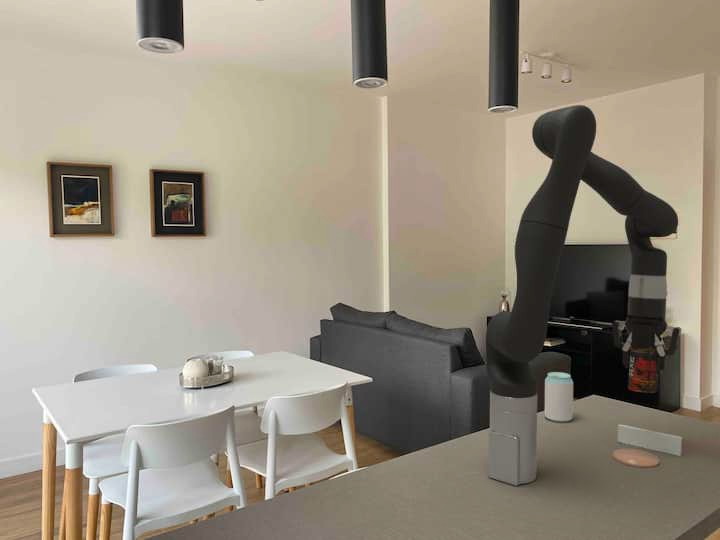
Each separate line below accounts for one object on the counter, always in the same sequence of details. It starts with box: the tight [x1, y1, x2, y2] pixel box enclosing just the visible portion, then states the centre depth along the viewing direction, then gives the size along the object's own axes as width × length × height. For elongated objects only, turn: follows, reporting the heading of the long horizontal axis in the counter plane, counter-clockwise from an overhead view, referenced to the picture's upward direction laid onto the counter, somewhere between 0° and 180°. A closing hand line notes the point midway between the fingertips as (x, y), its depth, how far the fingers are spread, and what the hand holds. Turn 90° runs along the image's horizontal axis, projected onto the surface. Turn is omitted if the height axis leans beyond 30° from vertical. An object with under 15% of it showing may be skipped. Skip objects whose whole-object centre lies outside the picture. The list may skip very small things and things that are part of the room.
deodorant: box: [627, 323, 660, 394], centre depth 123 cm, size 6×6×15 cm
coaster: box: [612, 447, 660, 469], centre depth 119 cm, size 9×9×1 cm
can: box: [544, 371, 574, 423], centre depth 146 cm, size 7×7×12 cm
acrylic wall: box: [617, 424, 683, 457], centre depth 125 cm, size 1×13×4 cm, turn 49°
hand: (643, 369), depth 123 cm, fingers closed on deodorant, 6 cm apart
